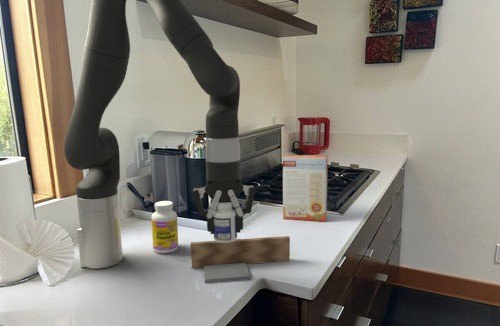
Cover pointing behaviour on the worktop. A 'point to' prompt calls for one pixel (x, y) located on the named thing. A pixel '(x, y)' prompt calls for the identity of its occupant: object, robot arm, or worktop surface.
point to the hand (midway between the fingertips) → (225, 231)
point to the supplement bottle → (164, 228)
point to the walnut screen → (240, 251)
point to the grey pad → (226, 272)
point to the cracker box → (305, 187)
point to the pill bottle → (225, 223)
